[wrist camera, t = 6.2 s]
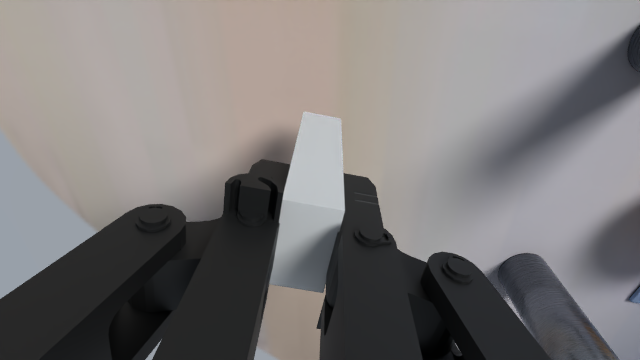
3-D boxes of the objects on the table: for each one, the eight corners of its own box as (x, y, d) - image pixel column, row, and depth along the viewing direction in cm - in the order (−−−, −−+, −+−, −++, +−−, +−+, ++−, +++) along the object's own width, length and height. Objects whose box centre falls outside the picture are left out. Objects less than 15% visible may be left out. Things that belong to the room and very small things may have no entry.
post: (554, 257, 20) (698, 437, 12) (532, 290, 21) (650, 473, 13) (510, 249, 20) (626, 426, 12) (490, 283, 21) (584, 464, 13)
